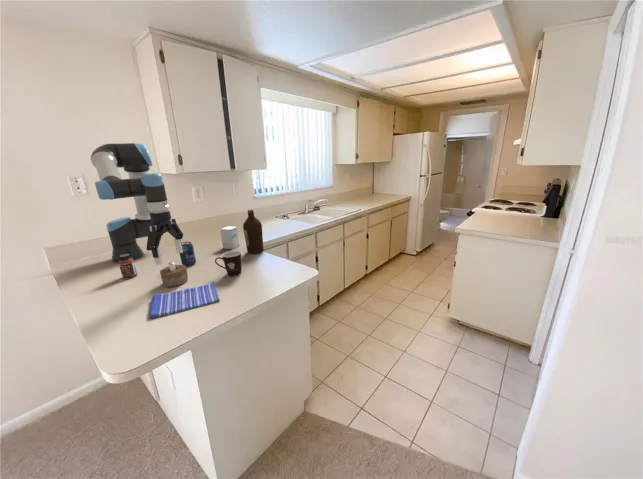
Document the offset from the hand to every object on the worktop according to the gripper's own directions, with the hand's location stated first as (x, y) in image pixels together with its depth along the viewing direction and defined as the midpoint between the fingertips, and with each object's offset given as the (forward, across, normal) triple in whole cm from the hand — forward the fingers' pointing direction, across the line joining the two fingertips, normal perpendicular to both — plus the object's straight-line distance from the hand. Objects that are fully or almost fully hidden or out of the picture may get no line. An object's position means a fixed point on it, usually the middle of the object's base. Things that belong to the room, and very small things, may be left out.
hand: (170, 258), depth 118 cm
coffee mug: (+12, +11, -22) cm, 28 cm away
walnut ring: (+10, 0, 0) cm, 10 cm away
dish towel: (+12, -15, -16) cm, 25 cm away
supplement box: (+13, +50, -4) cm, 51 cm away
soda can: (+12, +21, +6) cm, 25 cm away
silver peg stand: (+12, 0, 0) cm, 12 cm away
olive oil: (+12, +41, -23) cm, 49 cm away
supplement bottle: (+12, +5, +28) cm, 31 cm away
